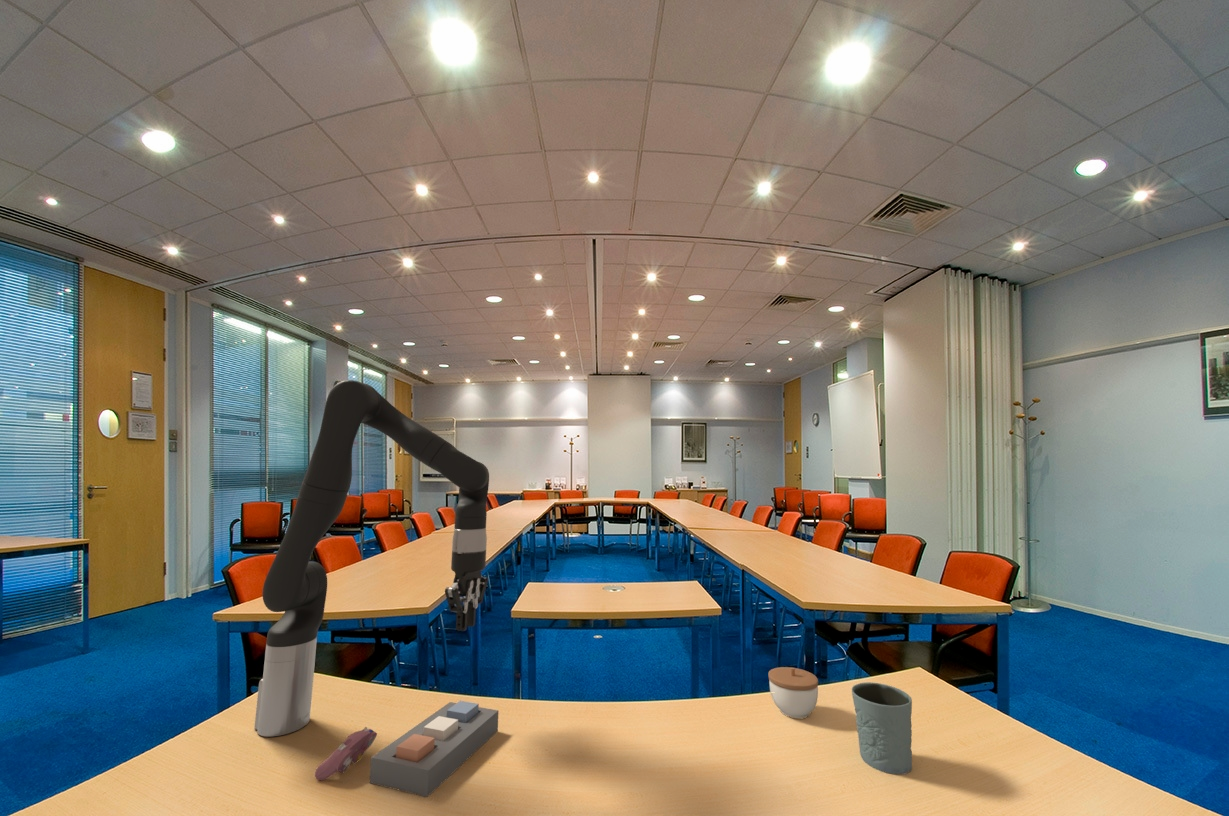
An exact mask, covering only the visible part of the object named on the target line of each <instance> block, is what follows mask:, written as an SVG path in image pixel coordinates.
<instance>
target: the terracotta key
mask: <svg viewBox="0 0 1229 816" xmlns="http://www.w3.org/2000/svg"><path fill="white" fill-rule="evenodd" d="M434 743H435V738H433V737H428V736H423V735H418V734H413V735H412V736H411V737H409V738H408V739H406V740H405V741H404V742H402V743H401V744H399V745H398V746H397V748H396V758H399V759H403V760H408V761H412V762H417V763H418V762H419V761H420V760H422V759H423V758H424V757H425V756H427V755H428V754H429V753H430V752H431V751H433V750H434Z"/></svg>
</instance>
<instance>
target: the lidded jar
mask: <svg viewBox="0 0 1229 816" xmlns="http://www.w3.org/2000/svg"><path fill="white" fill-rule="evenodd" d="M768 680H769V681H768V683H769V692H770V696H771V698H772V700H773V703H774V705H776V707H777V708H778V709H779V712H780V713H781V712H782V713H783V714H782V713H781V714H782V715H784V716H786V715H787V716H786V717H788V716H790V717H789V718H791V717H793V718H792V719H796V718H803V719H806V718H808V717H809V716H810V714H812V712H813V711H814V709H815V708H816V706H817V703H818V698H819V697H818V696H819V679H818V678H817V676H816V675H815V674H813V673H812V672H809V671H807V670H804V669H801V668H796V667H792V666H791V667H788V666H785V667H784V666H781V667H775V668H772V669H770V670H769V671H768ZM771 692H775V693H771ZM808 715H809V716H808ZM807 716H808V717H807ZM805 717H806V718H805Z"/></svg>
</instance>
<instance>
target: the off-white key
mask: <svg viewBox="0 0 1229 816" xmlns="http://www.w3.org/2000/svg"><path fill="white" fill-rule="evenodd" d="M457 730H458V719H452V718H447V717H441V716H438V717H437V718H436V719H434V720H433V721H431V722H430V723H429V724H427V725H426V726H424V728H423V736H428V737H433V738H435V740H438V741H443V742H444V741H445V740H446V739H448V738H449V737H450V736H451V735H452V734H454V733H455V732H456V731H457Z"/></svg>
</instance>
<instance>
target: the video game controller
mask: <svg viewBox="0 0 1229 816" xmlns="http://www.w3.org/2000/svg"><path fill="white" fill-rule="evenodd" d="M377 735H378V733H377V731H374V730H373V729H371V728H368V727H367V726H365V727H364V728H363V729H362V730H358V731H355V732H353V733H350V735H348V737H346V739H345V740H344V741H343V742H342V743H341V744H340V745H339V746H338V747H337V748H336V749H335V750H334V751H333V752H332V753H331V754H330V756H328V758H326V759H325V760H324V761H323V762H321V763H320V764H319V765H318V766H317V767H316V768H315V772H314V777H315V779H316V780H318V781H324V780H327V779H329V778H330V777H332V776H333V775H334V774H335V773H337V772H338V773H339V774H340V775H342V774H344V773H345V772H346V771H347V770H348V768H349V767H350V765H351V764H352V763H353V764H354V765H355V764H357V763H358V762H359V761H360V760H362V757H363V755H364V754H365V753H366V751H367V750H368V749H369V748H370V747H371V746H372V744H373V743H374V741H375V740H376V738H377ZM357 761H358V762H357ZM343 772H344V773H343Z"/></svg>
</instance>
